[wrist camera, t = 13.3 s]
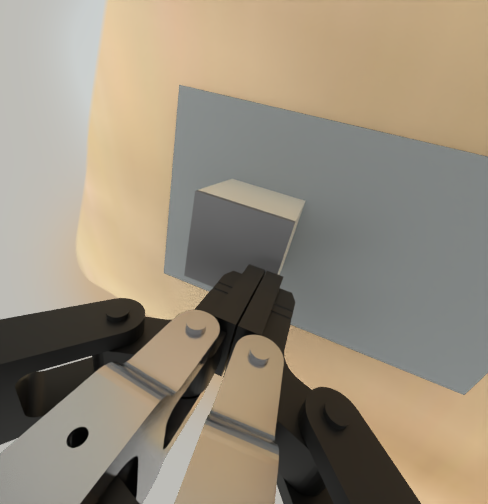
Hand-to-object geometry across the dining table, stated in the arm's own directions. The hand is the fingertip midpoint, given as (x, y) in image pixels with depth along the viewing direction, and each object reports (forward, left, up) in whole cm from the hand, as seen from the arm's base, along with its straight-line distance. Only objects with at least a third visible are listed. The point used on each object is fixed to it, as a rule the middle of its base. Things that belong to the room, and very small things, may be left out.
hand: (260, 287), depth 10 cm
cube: (+2, 0, -2) cm, 3 cm away
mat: (-3, 0, -7) cm, 8 cm away
